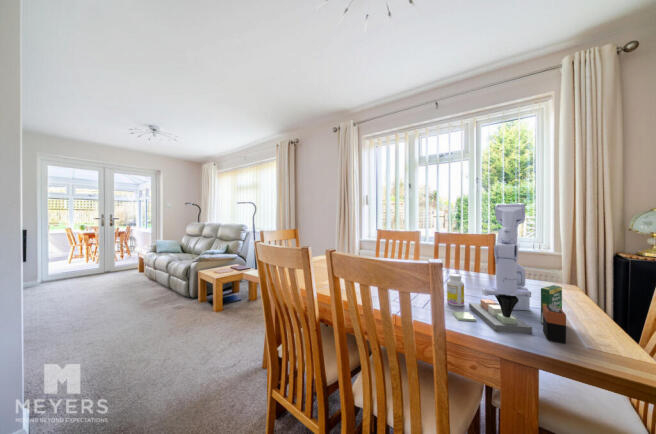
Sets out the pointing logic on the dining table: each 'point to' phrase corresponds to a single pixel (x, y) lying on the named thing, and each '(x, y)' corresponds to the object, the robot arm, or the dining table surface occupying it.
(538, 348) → the dining table surface
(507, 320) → the sage button
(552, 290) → the coffee box
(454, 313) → the tile
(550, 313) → the battery
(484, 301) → the terracotta button
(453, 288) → the supplement bottle
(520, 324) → the button board
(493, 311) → the cream button
